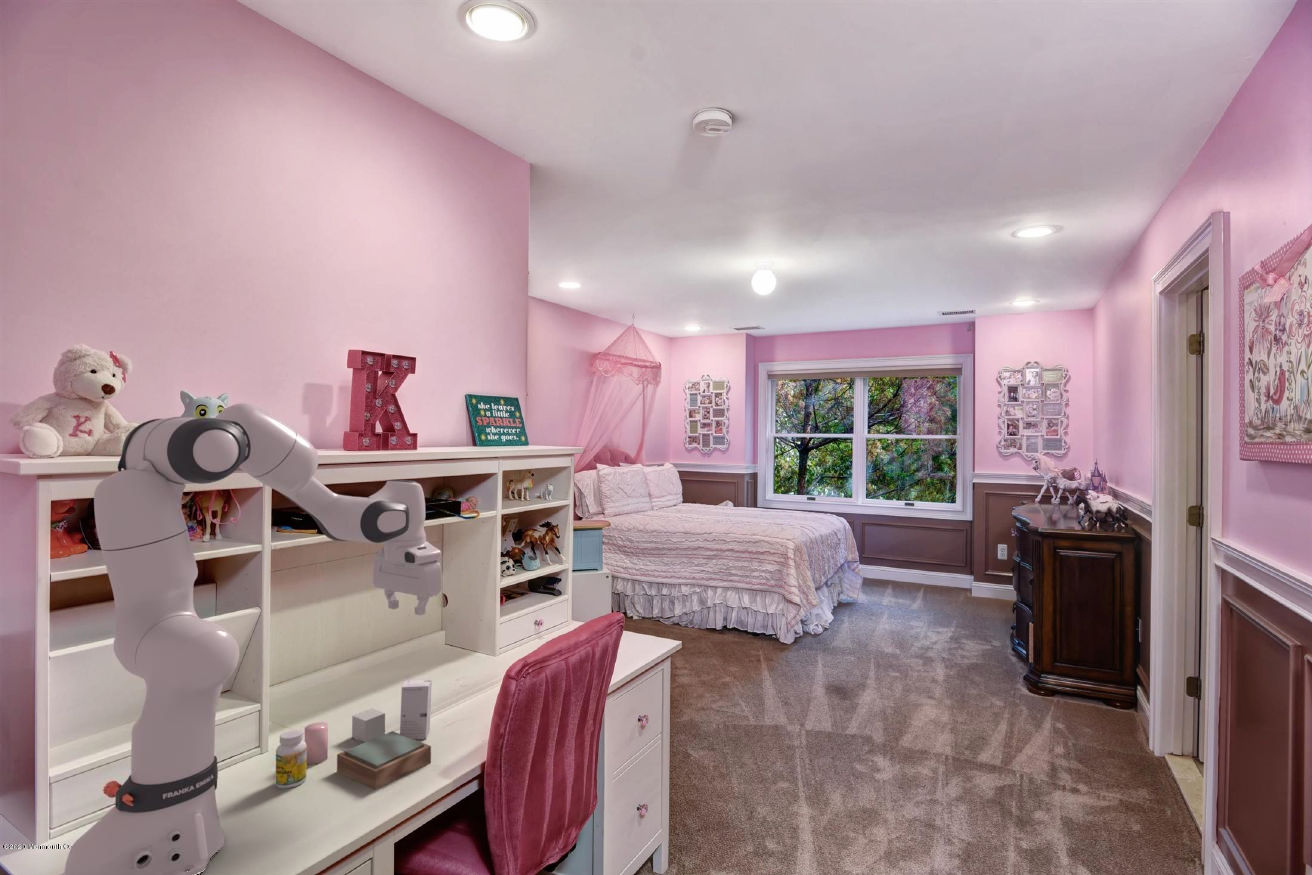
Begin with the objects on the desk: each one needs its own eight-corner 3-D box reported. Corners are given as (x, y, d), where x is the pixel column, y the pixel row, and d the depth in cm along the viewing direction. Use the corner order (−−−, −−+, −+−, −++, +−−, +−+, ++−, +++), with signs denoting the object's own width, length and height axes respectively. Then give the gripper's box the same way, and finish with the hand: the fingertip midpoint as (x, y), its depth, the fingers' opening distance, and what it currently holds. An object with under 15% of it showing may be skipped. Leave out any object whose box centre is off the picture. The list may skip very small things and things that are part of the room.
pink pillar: (311, 766, 137) (312, 732, 137) (300, 760, 139) (300, 727, 139) (331, 757, 141) (332, 725, 141) (320, 752, 143) (320, 720, 143)
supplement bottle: (312, 776, 133) (313, 729, 133) (292, 790, 127) (293, 740, 127) (289, 774, 134) (289, 726, 134) (268, 787, 128) (269, 738, 129)
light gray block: (365, 742, 148) (365, 720, 148) (352, 737, 151) (352, 715, 151) (384, 734, 152) (385, 713, 152) (371, 729, 155) (371, 708, 155)
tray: (375, 789, 128) (375, 768, 128) (336, 771, 135) (337, 751, 135) (430, 762, 139) (430, 743, 139) (392, 746, 146) (392, 728, 146)
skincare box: (399, 740, 149) (399, 687, 149) (404, 732, 153) (404, 680, 154) (427, 739, 150) (427, 685, 150) (431, 730, 154) (431, 679, 154)
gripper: (365, 548, 151) (366, 608, 152) (422, 557, 140) (423, 621, 141) (389, 544, 157) (390, 601, 157) (446, 552, 146) (447, 614, 146)
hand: (406, 611), depth 149 cm, fingers open, 8 cm apart
